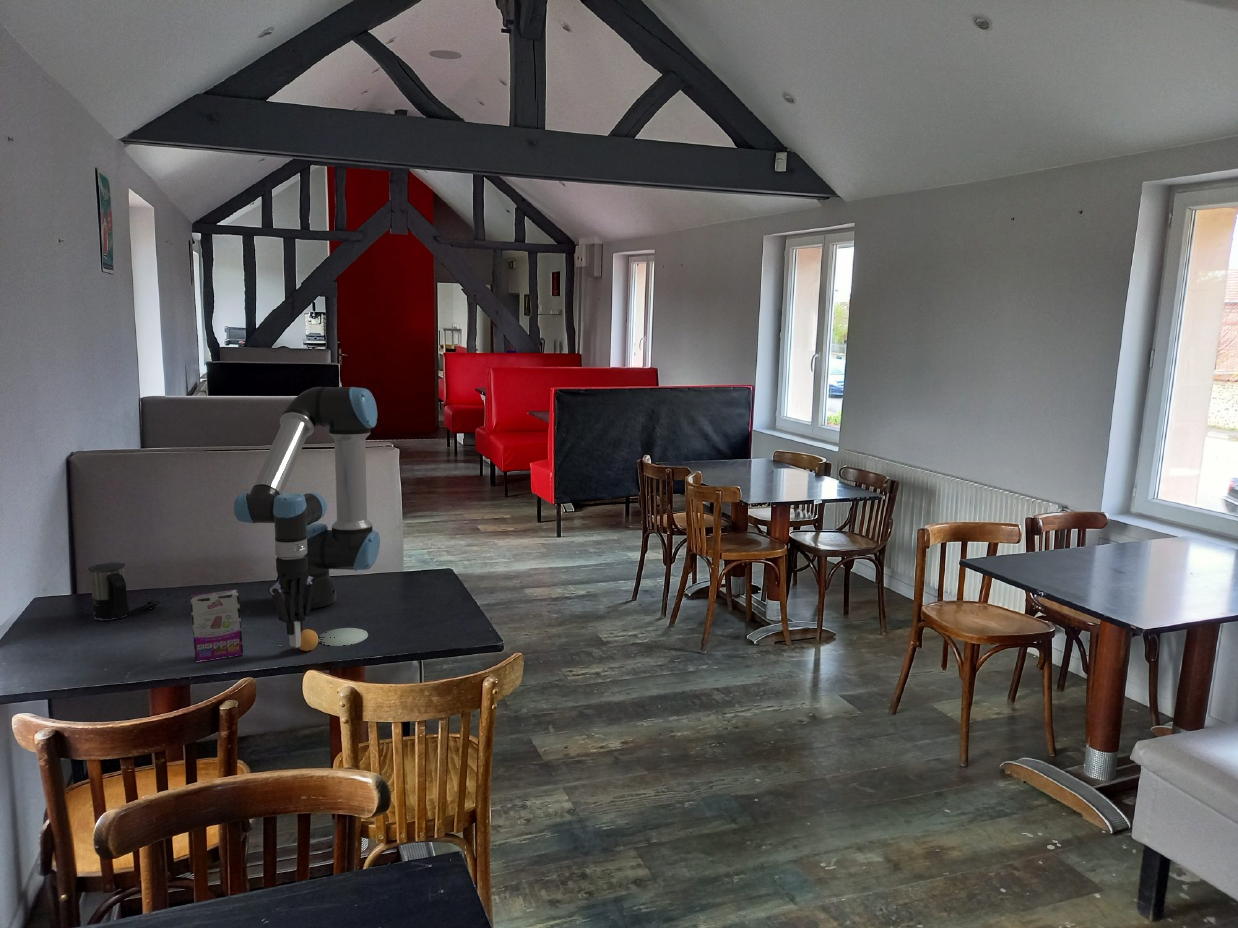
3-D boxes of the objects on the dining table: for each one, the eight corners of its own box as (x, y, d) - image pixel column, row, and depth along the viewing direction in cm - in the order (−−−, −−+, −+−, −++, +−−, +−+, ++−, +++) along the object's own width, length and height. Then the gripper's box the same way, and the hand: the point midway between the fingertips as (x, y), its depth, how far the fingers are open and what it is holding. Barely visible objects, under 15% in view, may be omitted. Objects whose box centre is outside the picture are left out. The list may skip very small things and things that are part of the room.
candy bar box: (242, 649, 225) (238, 588, 222) (243, 656, 221) (239, 594, 218) (194, 656, 220) (189, 594, 217) (194, 663, 216) (190, 600, 213)
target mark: (307, 638, 233) (307, 638, 233) (347, 625, 243) (347, 624, 243) (338, 649, 225) (338, 649, 225) (378, 635, 236) (378, 634, 236)
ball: (287, 639, 223) (302, 622, 226) (298, 652, 226) (312, 635, 229) (301, 644, 220) (316, 627, 223) (311, 657, 223) (326, 640, 227)
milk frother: (84, 619, 246) (80, 568, 243) (134, 602, 260) (130, 554, 258) (120, 626, 240) (115, 574, 238) (169, 609, 255) (165, 560, 252)
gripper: (277, 563, 211) (281, 656, 215) (323, 552, 222) (326, 641, 225) (259, 558, 215) (263, 649, 219) (304, 548, 226) (308, 635, 229)
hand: (295, 645), depth 222 cm, fingers closed
